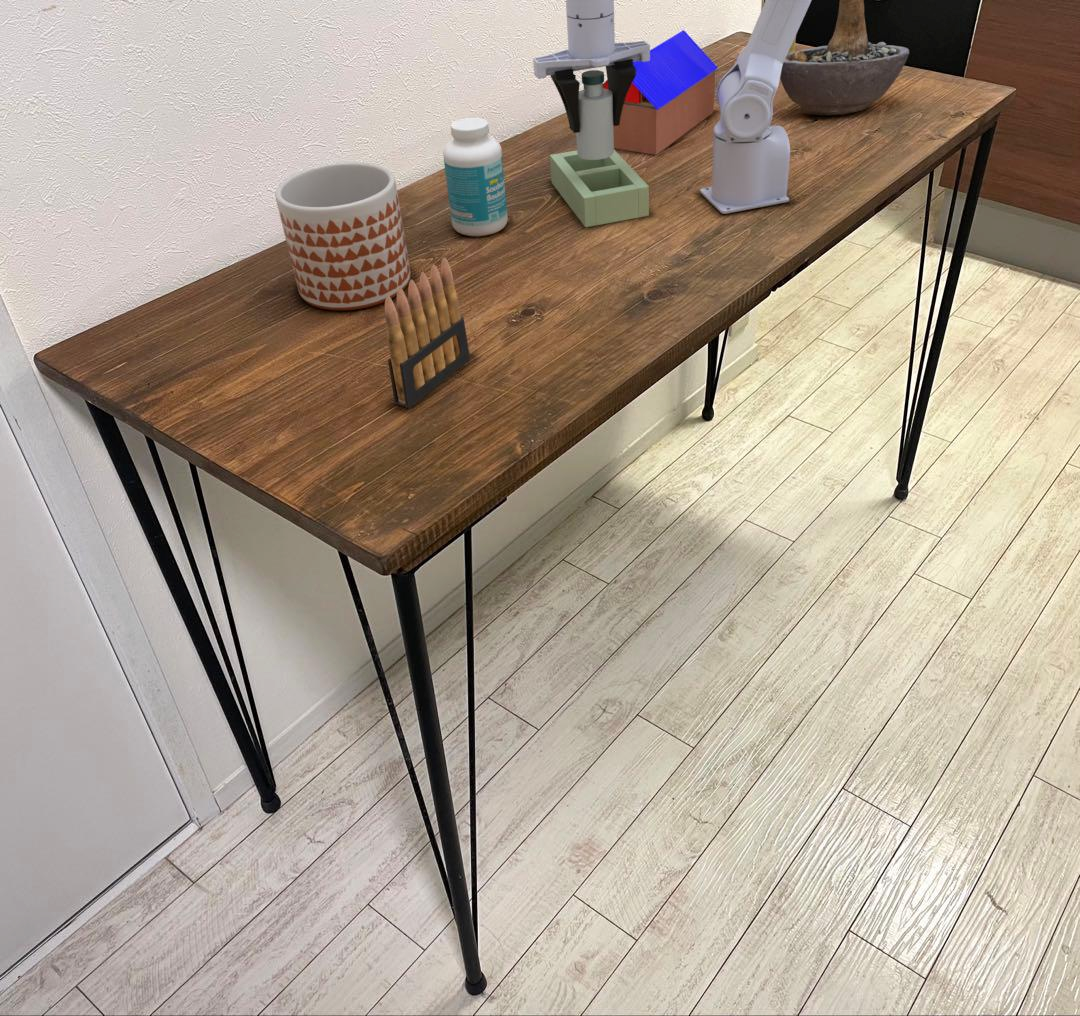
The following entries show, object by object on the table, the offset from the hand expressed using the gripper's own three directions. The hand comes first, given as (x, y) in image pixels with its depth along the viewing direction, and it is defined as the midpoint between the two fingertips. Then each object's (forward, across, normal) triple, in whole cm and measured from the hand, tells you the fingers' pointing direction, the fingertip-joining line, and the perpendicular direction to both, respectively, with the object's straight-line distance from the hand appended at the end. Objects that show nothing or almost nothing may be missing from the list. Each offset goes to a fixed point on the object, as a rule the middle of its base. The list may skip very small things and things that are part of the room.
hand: (594, 126), depth 131 cm
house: (+11, +17, +24) cm, 31 cm away
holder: (+10, +1, +2) cm, 11 cm away
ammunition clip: (+11, -30, -35) cm, 47 cm away
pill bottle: (+11, -16, 0) cm, 19 cm away
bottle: (+3, 0, 0) cm, 3 cm away
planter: (+11, +45, +17) cm, 49 cm away
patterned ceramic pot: (+11, -34, -10) cm, 37 cm away
